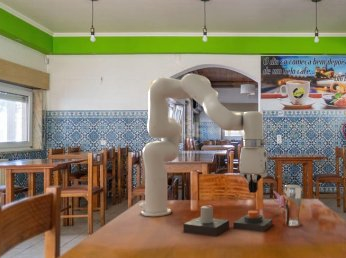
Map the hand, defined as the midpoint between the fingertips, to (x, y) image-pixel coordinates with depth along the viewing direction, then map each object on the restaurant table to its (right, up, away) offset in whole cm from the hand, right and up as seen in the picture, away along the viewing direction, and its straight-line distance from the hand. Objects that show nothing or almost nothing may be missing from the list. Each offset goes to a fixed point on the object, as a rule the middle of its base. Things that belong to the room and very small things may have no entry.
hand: (253, 192), depth 134 cm
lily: (+14, -13, +19) cm, 27 cm away
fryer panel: (-17, -13, -5) cm, 22 cm away
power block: (0, -13, 0) cm, 13 cm away
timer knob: (-17, -10, -5) cm, 20 cm away
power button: (0, -10, 0) cm, 9 cm away
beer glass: (+15, -13, +2) cm, 20 cm away
